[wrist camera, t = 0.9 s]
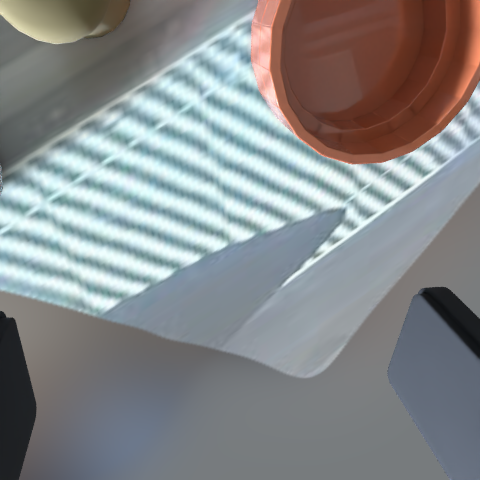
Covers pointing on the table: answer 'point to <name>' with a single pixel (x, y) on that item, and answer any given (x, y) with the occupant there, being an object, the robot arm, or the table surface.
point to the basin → (366, 71)
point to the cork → (64, 18)
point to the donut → (0, 185)
